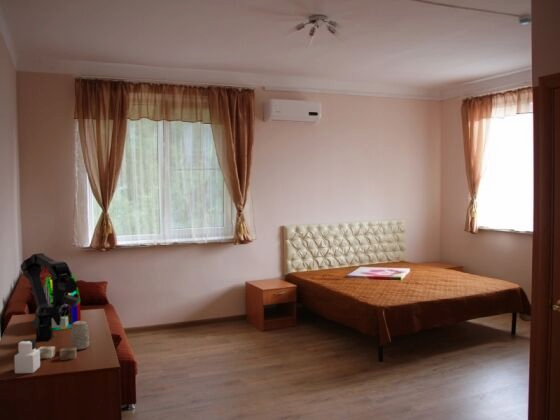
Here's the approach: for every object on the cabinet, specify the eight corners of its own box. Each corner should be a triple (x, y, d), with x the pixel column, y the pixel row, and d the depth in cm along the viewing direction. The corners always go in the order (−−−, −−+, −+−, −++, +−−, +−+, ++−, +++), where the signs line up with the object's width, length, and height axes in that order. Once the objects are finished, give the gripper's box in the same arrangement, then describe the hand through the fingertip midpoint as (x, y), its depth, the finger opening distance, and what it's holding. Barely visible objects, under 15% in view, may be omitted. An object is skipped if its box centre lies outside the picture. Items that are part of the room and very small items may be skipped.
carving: (71, 347, 226) (70, 321, 225) (89, 345, 229) (88, 319, 228) (71, 351, 220) (70, 325, 220) (89, 349, 223) (89, 323, 223)
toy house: (80, 326, 258) (79, 278, 257) (52, 331, 251) (51, 281, 249) (70, 316, 278) (69, 271, 277) (43, 319, 271) (42, 273, 269)
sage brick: (51, 327, 227) (51, 318, 227) (55, 325, 230) (54, 316, 230) (65, 327, 227) (65, 318, 227) (68, 325, 231) (68, 316, 230)
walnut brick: (60, 360, 210) (59, 351, 210) (61, 357, 214) (61, 348, 213) (75, 359, 212) (75, 350, 211) (76, 356, 215) (76, 347, 215)
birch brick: (37, 358, 213) (37, 349, 212) (41, 355, 216) (40, 346, 216) (51, 358, 213) (51, 349, 212) (55, 355, 216) (55, 346, 216)
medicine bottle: (22, 367, 203) (21, 337, 202) (40, 366, 203) (39, 337, 202) (14, 373, 195) (13, 343, 195) (33, 373, 196) (32, 343, 195)
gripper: (69, 294, 219) (70, 329, 220) (84, 285, 237) (85, 318, 238) (43, 294, 218) (44, 330, 219) (60, 285, 237) (61, 318, 238)
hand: (60, 324), depth 229 cm, fingers closed on sage brick, 3 cm apart
